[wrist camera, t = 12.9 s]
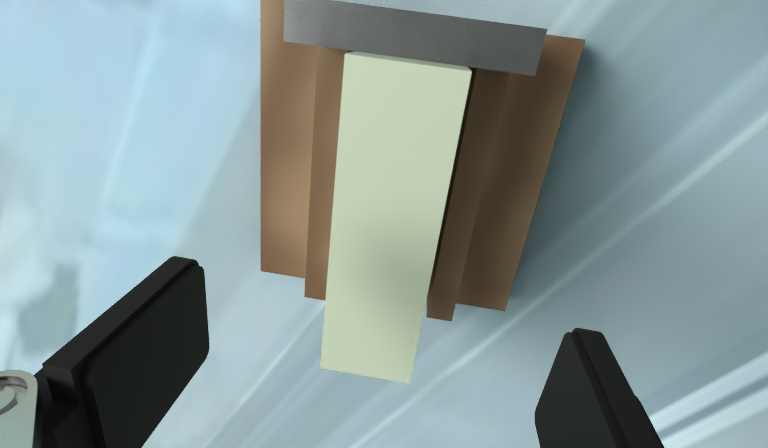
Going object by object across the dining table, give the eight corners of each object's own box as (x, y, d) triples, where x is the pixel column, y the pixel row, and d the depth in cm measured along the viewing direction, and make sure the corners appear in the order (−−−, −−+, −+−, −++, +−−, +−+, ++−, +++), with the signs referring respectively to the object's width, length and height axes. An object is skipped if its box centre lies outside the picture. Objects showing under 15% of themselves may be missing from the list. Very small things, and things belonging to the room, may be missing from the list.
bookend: (512, 30, 21) (547, 29, 14) (504, 62, 21) (534, 75, 15) (329, 5, 21) (284, -6, 15) (327, 38, 22) (283, 41, 15)
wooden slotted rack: (572, 39, 22) (600, 40, 19) (500, 293, 29) (510, 331, 25) (274, -1, 23) (244, -8, 19) (271, 256, 30) (248, 287, 26)
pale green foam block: (457, 56, 21) (472, 71, 13) (417, 276, 27) (409, 383, 19) (378, 45, 21) (344, 53, 13) (354, 266, 27) (320, 367, 19)
